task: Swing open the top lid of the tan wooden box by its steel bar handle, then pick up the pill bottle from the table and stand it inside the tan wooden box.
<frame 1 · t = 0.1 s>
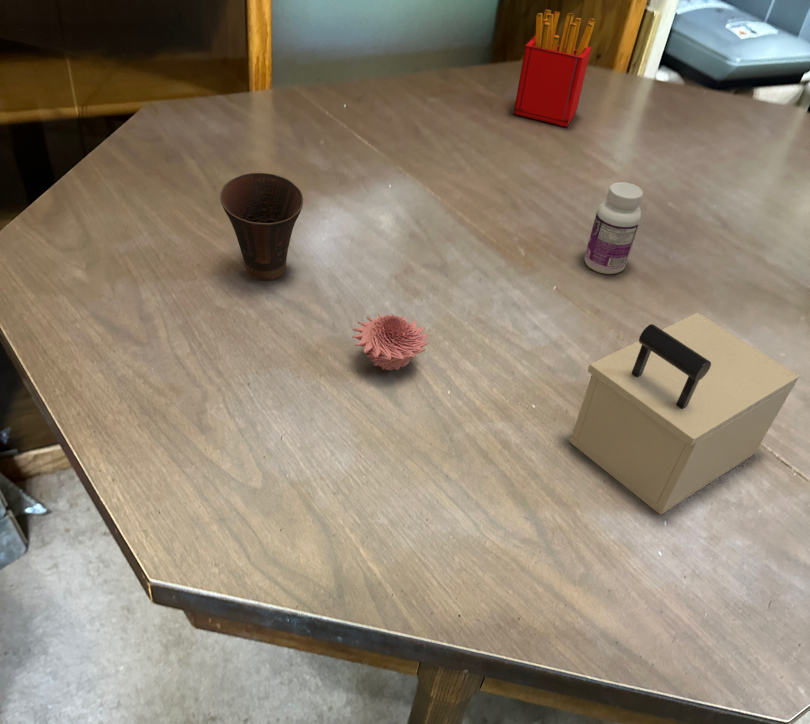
cup: (266, 277, 90), on the table
flower: (388, 366, 81), on the table
box lid: (704, 351, 67), point 12 cm above the table, hinge at 0.0°
french fries container: (544, 116, 128), on the table
pill bottle: (603, 265, 98), on the table
tan wooden box: (662, 448, 76), on the table
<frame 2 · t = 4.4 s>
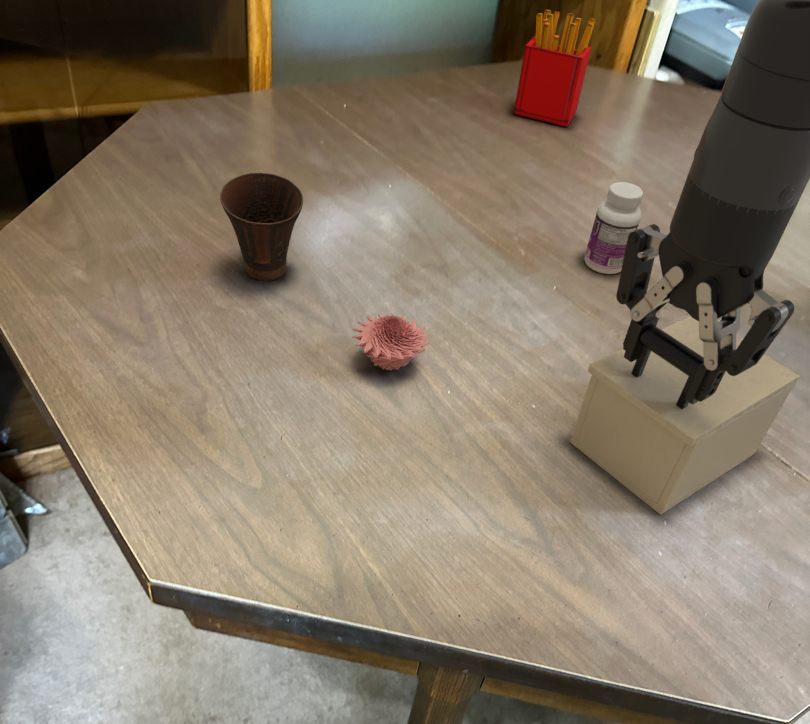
hand: (663, 377, 65), 11 cm above the table, tool pointing down, fingers closed on box lid, 6 cm apart
box lid: (704, 351, 67), point 12 cm above the table, hinge at 0.0°, touching gripper
everything else where it was.
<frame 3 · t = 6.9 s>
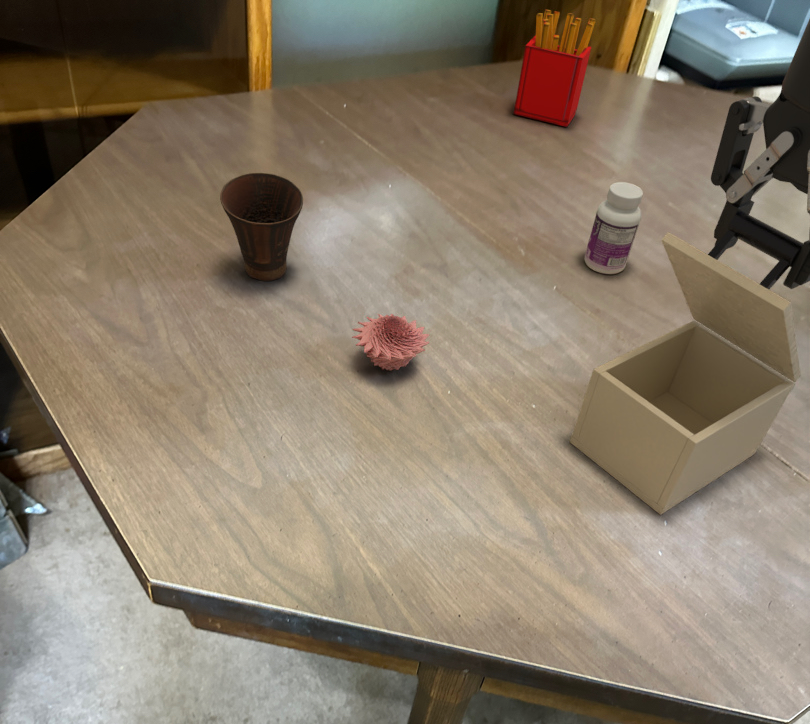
hand: (757, 264, 62), 19 cm above the table, tool pointing down, fingers closed on box lid, 6 cm apart
box lid: (755, 288, 65), point 16 cm above the table, hinge at 46.0°, touching gripper
everything else where it was.
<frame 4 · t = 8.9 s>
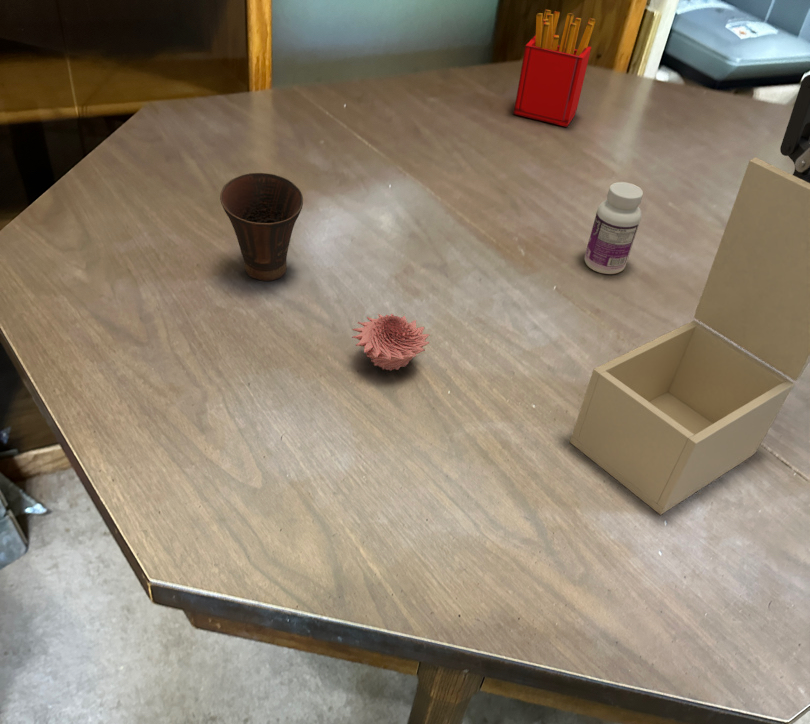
box lid: (793, 264, 67), point 17 cm above the table, hinge at 83.7°, touching gripper
everything else where it was.
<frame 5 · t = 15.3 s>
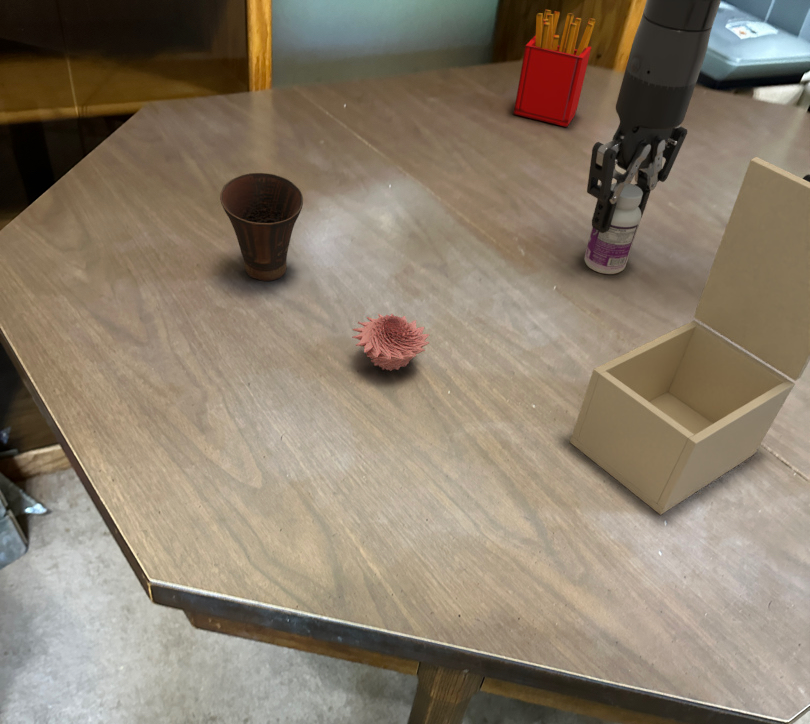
hand: (616, 223, 94), 5 cm above the table, tool pointing down, fingers closed on pill bottle, 5 cm apart
box lid: (793, 264, 67), point 17 cm above the table, hinge at 84.2°
pill bottle: (603, 265, 98), on the table, touching gripper
everything else where it was.
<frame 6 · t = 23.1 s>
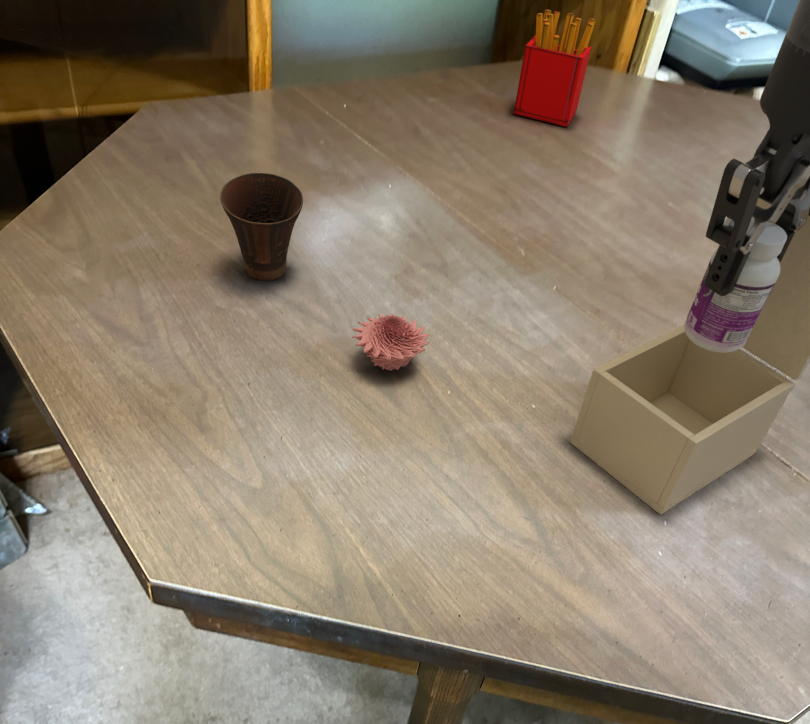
hand: (739, 279, 62), 18 cm above the table, tool pointing down, fingers closed on pill bottle, 5 cm apart
box lid: (796, 264, 67), point 17 cm above the table, hinge at 87.3°
pill bottle: (712, 338, 66), point 13 cm above the table, touching gripper
everything else where it was.
when the fingers open (6 cm above the table, at t = 26.4 s): pill bottle stays where it is, resting on tan wooden box.
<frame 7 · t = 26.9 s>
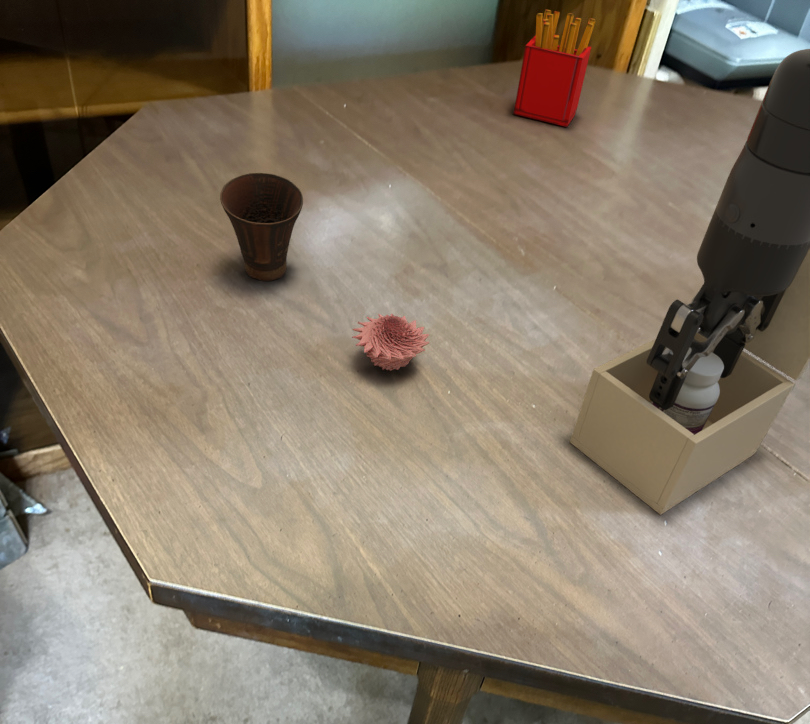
hand: (689, 387, 70), 8 cm above the table, tool pointing down, fingers open, 8 cm apart
box lid: (798, 264, 67), point 17 cm above the table, hinge at 90.9°, touching hand
pill bottle: (664, 442, 75), point 1 cm above the table, touching tan wooden box
everything else where it was.
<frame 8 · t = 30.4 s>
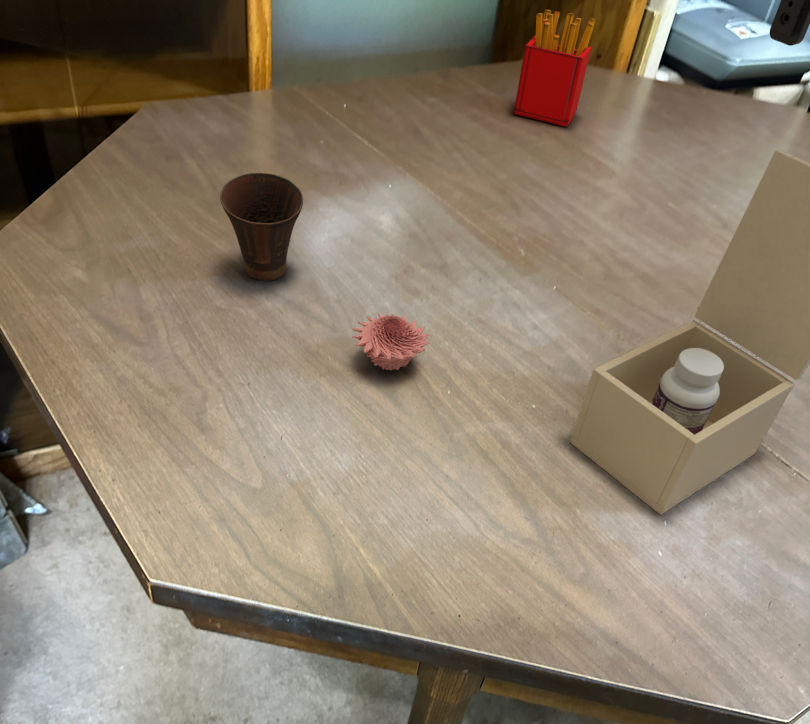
box lid: (801, 264, 68), point 17 cm above the table, hinge at 97.1°
everything else where it was.
at the end: box lid at +97° (first picture: +0°); pill bottle inside the target area in the tan wooden box (0.1 cm from its centre), point 0.6 cm above the tan wooden box's base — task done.
